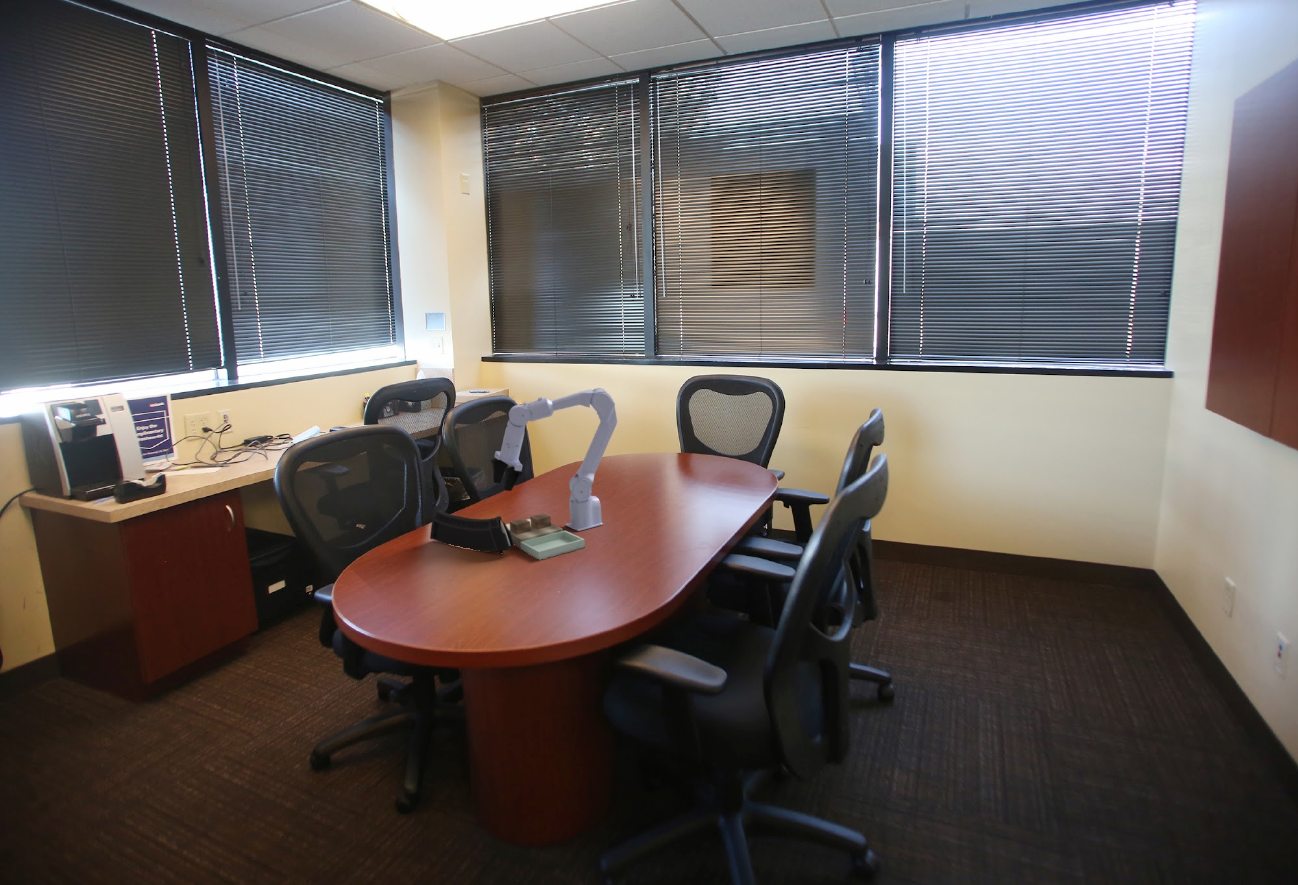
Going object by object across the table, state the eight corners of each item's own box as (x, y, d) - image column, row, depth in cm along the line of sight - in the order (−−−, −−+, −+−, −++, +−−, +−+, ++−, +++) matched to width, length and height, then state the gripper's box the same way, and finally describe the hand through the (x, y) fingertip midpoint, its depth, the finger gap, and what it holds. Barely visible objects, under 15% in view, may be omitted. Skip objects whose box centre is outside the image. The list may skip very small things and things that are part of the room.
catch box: (565, 538, 214) (565, 530, 214) (585, 547, 206) (584, 539, 205) (520, 550, 206) (520, 541, 205) (539, 560, 197) (538, 551, 196)
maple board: (537, 526, 227) (537, 517, 226) (563, 538, 214) (562, 528, 214) (497, 535, 219) (496, 526, 218) (521, 549, 206) (520, 539, 206)
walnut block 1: (523, 527, 216) (522, 518, 216) (530, 531, 213) (530, 521, 212) (510, 530, 214) (509, 521, 213) (517, 534, 210) (516, 524, 209)
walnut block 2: (543, 522, 220) (543, 513, 220) (551, 526, 217) (550, 516, 216) (531, 525, 218) (530, 516, 217) (538, 529, 214) (537, 519, 214)
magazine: (421, 513, 214) (491, 495, 198) (429, 510, 217) (499, 492, 201) (438, 567, 215) (509, 553, 199) (446, 563, 218) (517, 550, 202)
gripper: (490, 436, 219) (480, 478, 221) (511, 449, 208) (501, 493, 210) (510, 438, 224) (500, 479, 226) (532, 451, 213) (521, 494, 215)
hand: (502, 486), depth 218 cm, fingers open, 7 cm apart
